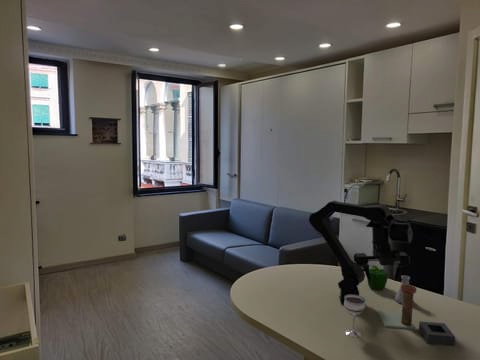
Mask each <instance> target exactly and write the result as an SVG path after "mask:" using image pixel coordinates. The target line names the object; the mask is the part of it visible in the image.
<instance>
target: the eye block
mask: <svg viewBox="0 0 480 360" xmlns="http://www.w3.org/2000/svg"><path fill="white" fill-rule="evenodd" d="M418 331H419V333H420V334H421V336H422V337H423V339H424V341H425V342H426V343H427V344H430V345H431V344H433V345H442V346H443V345H444V346H455V343H456V336H455V334H454V333H453V332H452V330H450V328H449V327H448V325H446V323H444V322H435V321H434V322H433V321H421V320H420V321H419V322H418Z"/></svg>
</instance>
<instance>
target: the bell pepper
mask: <svg viewBox="0 0 480 360" xmlns="http://www.w3.org/2000/svg"><path fill="white" fill-rule="evenodd" d="M369 273H370V282H369V281H368V279H367V278H366V280H367V281H366V282H367V284H368V287H369V288H370V289H372V290H373V289H374V290H378V291H382V290H384V289H385V288H386V284H387V282H388V277H389V276H388V275H389V274H388V272H387V271H386V270H385V269H384V268H379V267H378V266H377V265H375V264H373V265H371V268H369Z"/></svg>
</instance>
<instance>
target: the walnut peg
mask: <svg viewBox="0 0 480 360" xmlns="http://www.w3.org/2000/svg"><path fill="white" fill-rule="evenodd" d="M400 286H401V285H400ZM401 290H402V291H403V304H402V306H401V308H402V309H401V313H402V319H401V323H402V324H403V325H406V326H410V325H411V323H413V321H412V320H413V305H414V302H413V301H414V294H416V293H417V287H415V286H414V285H410V284H409V285H402V286H401Z"/></svg>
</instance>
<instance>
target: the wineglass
mask: <svg viewBox="0 0 480 360" xmlns="http://www.w3.org/2000/svg"><path fill="white" fill-rule="evenodd" d="M344 298H345V301H344V304H343V307H344V309H345V310H346V312H347V313H348V314H350V315H352V328H348V329H346V330H345V331H344V332H345V334H346V335H347V336H349V337H351V338H358V337H360V336H361V335H362V333H361V332H360V331H359V330H357V329H355V320H356V319H355V318H356V316H358V315H361V314H362V313H364V311H365V310H366V303H365V302H366V299H365V297H363V296H361V295H360V294H359V295H353V294H349V295H346V296H345V297H344Z"/></svg>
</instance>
